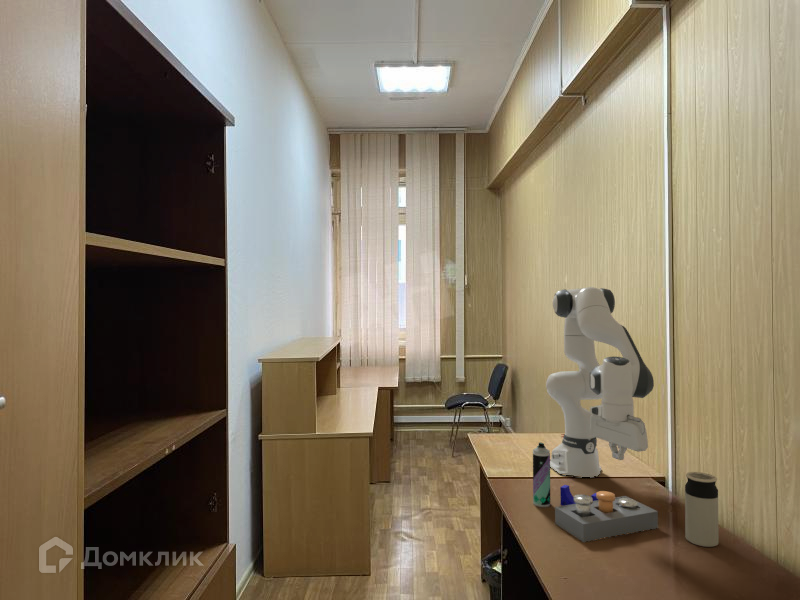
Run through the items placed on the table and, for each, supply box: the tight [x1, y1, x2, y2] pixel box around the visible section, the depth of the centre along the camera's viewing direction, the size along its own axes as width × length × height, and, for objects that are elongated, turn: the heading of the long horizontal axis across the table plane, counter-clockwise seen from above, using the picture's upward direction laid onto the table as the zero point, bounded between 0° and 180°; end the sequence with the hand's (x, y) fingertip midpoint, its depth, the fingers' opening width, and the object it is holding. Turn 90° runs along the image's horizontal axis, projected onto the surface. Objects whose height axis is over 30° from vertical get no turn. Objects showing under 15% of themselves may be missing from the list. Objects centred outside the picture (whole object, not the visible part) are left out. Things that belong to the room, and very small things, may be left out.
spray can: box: [532, 442, 551, 508], centre depth 176 cm, size 6×6×20 cm
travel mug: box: [684, 471, 719, 548], centre depth 148 cm, size 8×8×18 cm
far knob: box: [618, 497, 638, 510], centre depth 161 cm, size 5×5×6 cm
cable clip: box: [560, 484, 598, 506], centre depth 172 cm, size 12×4×6 cm, turn 45°
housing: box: [554, 495, 659, 543], centre depth 158 cm, size 13×26×5 cm, turn 109°
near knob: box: [573, 494, 593, 517], centre depth 156 cm, size 5×5×6 cm
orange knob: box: [595, 490, 616, 513], centre depth 158 cm, size 5×5×6 cm
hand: (618, 458), depth 159 cm, fingers closed
